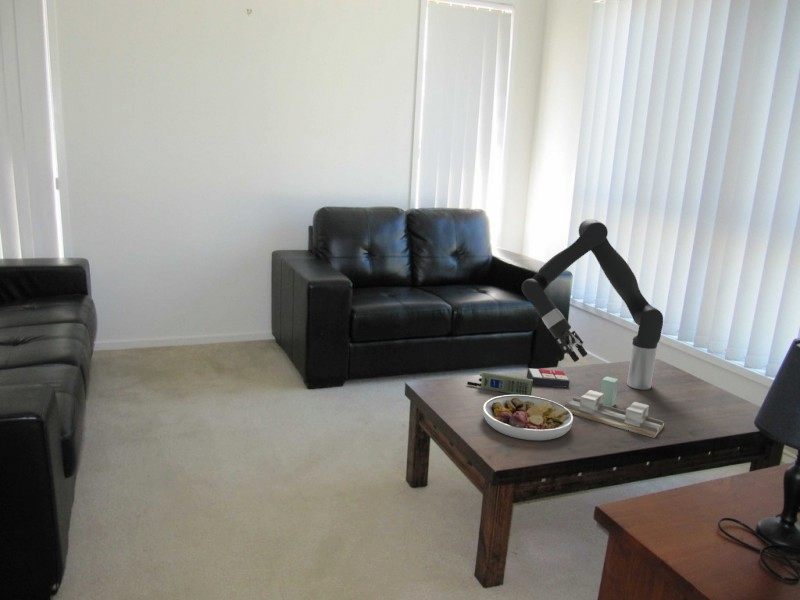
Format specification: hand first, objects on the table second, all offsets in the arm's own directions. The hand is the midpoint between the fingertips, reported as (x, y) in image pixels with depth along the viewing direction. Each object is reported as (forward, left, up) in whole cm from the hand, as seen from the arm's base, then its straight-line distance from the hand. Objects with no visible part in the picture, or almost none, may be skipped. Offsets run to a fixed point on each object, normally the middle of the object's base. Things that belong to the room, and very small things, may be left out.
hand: (581, 358), depth 239 cm
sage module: (0, +12, -15) cm, 19 cm away
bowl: (+37, -3, -16) cm, 40 cm away
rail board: (+12, +18, -15) cm, 26 cm away
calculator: (-7, -15, -16) cm, 23 cm away
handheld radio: (+16, -25, -16) cm, 34 cm away
